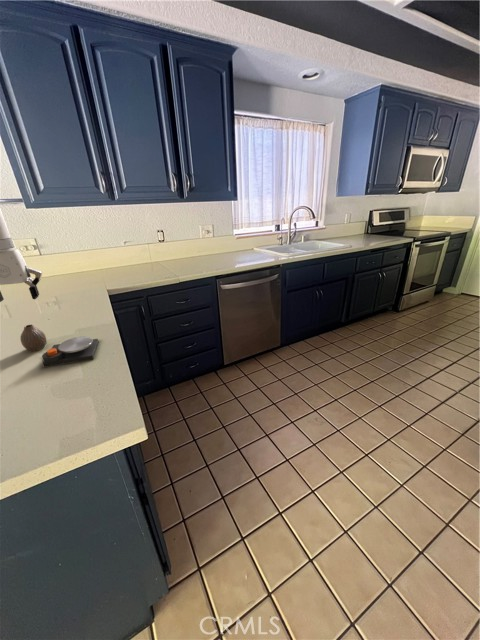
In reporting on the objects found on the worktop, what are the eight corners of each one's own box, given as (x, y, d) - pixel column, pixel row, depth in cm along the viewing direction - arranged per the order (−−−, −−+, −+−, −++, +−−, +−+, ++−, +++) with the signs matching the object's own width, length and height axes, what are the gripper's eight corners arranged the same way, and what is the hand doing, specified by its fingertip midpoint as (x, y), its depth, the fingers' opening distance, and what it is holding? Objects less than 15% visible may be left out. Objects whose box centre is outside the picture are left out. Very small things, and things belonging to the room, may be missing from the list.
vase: (22, 355, 89) (12, 332, 85) (27, 345, 94) (18, 323, 91) (46, 350, 91) (38, 328, 88) (50, 341, 97) (42, 320, 93)
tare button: (46, 357, 83) (45, 353, 82) (49, 353, 85) (47, 348, 84) (56, 355, 84) (54, 351, 83) (58, 351, 86) (57, 347, 85)
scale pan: (54, 355, 83) (54, 353, 83) (63, 340, 92) (62, 339, 91) (89, 349, 86) (89, 348, 86) (94, 336, 95) (94, 334, 94)
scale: (42, 367, 82) (39, 359, 81) (54, 348, 93) (51, 340, 92) (93, 359, 86) (91, 351, 85) (98, 341, 97) (96, 334, 96)
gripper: (-48, 249, 72) (-21, 307, 80) (27, 245, 77) (45, 300, 84) (-32, 245, 79) (-9, 299, 86) (36, 241, 84) (52, 293, 91)
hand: (18, 299), depth 85 cm, fingers open, 9 cm apart
